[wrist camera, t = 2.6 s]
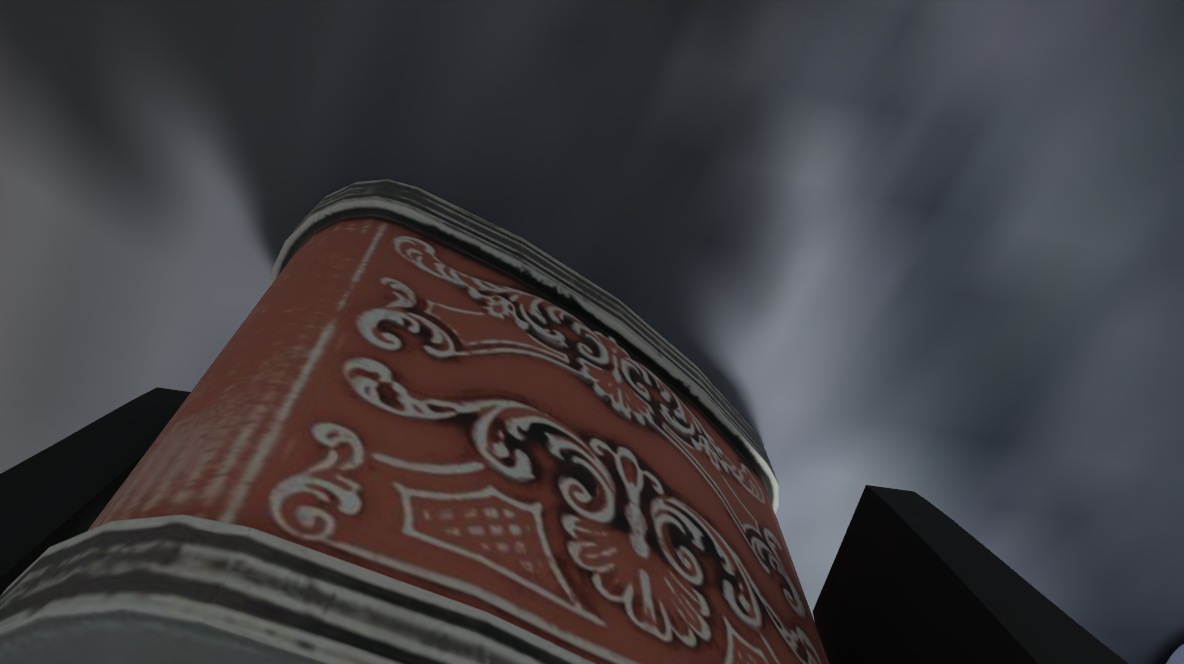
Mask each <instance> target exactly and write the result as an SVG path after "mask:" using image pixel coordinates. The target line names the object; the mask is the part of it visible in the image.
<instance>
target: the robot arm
mask: <svg viewBox="0 0 1184 664" xmlns="http://www.w3.org/2000/svg"><path fill="white" fill-rule="evenodd" d="M190 393H191V392H186V391H178V390H171V389H164V388H155V389H153V390H151V391H149V392H147V393H145V394H143V395H141V396H140V397H138V398H136V399H134V400H132V401H130V402H128V403H127V404H125V405H123V406H121V407H119V408H118V409H116V410H114V411H112V412H111V413H109V414H107V415H105V416H103V417H102V418H100V419H98V420H96V421H95V422H93V423H91V424H89V425H88V426H86V427H84V428H82V429H81V430H79V431H77V432H75V433H73V434H72V435H70V436H68V437H66V438H65V439H63V440H61V441H59V442H58V443H56V444H54V445H52V446H50V447H49V448H47V449H45V450H43V451H41V452H39V453H38V454H36V455H34V456H32V457H30V458H29V459H27V460H25V461H23V462H21V463H19V464H18V465H16V466H14V467H12V468H10V469H9V470H7V471H5V472H3V473H1V474H0V596H1V595H2V594H3V592H4V591H5V590H6V589H7V587H9V586H10V585H11V584H12V583H13V582H14V581H15V580H16V579H17V578H18V577H19V576H20V575H21V574H22V573H23V572H24V571H25V570H26V569H27V568H28V567H29V566H30V565H32V564H33V563H34V562H35V561H36V560H37V559H38V558H39V557H40V556H41V555H42V554H43V553H44V552H45V551H46V550H47V549H48V548H49V547H51V546H54V545H56V544H59V543H61V542H63V541H66V540H68V539H70V538H73V537H75V536H77V535H80V534H82V533H85V532H87V531H88V530H89V528H90V527H91V526H92V524H93V523H94V522H95V520H96V519H97V518H98V516H99V515H100V514H101V512H102V511H103V510H104V508H105V507H106V506H107V504H108V503H109V501H110V500H111V499H112V497H113V496H114V495H115V493H116V492H117V491H118V489H119V488H120V487H121V485H122V484H123V483H124V481H125V480H126V479H127V477H128V476H129V475H130V473H131V472H132V471H133V469H134V468H135V467H136V465H137V464H138V463H139V461H140V460H141V459H142V457H143V456H144V455H145V453H146V452H147V451H148V449H149V448H150V447H151V445H152V444H153V443H154V441H155V440H156V439H157V437H158V436H159V435H160V433H161V432H162V431H163V429H164V428H165V427H166V425H167V424H168V423H169V421H170V420H171V419H172V417H173V416H174V415H175V413H176V412H177V411H178V409H179V408H180V407H181V405H182V404H183V402H184V401H185V400H186V398H187V397H188V396H189V394H190ZM813 615H814V621H815V625H816V628H817V631H818V633H819V636H820V639H821V642H822V644H823V647H824V650H825V653H826V655H827V658H828V661H829V664H1128V663H1127V662H1126V661H1124V660H1123V659H1122V658H1120V657H1119V656H1118V655H1116V654H1115V653H1114V652H1113V651H1111V650H1110V649H1109V648H1108V647H1106V646H1105V645H1104V644H1103V643H1101V642H1100V641H1099V640H1098V639H1096V638H1095V637H1094V636H1093V635H1091V634H1090V633H1089V632H1088V631H1086V630H1085V629H1084V628H1083V627H1081V626H1080V625H1079V624H1078V623H1076V622H1075V621H1074V620H1073V619H1071V618H1070V617H1069V616H1068V615H1067V614H1065V613H1064V612H1063V611H1062V610H1060V609H1059V608H1058V607H1057V606H1056V605H1054V604H1053V603H1052V602H1051V601H1050V600H1048V599H1047V598H1046V597H1045V596H1044V595H1042V594H1041V593H1040V592H1039V591H1037V590H1036V589H1035V588H1034V587H1033V586H1031V585H1030V584H1029V583H1028V582H1027V581H1025V580H1024V579H1023V578H1022V577H1021V576H1020V575H1018V574H1017V573H1016V572H1015V571H1014V570H1012V569H1011V568H1010V567H1009V566H1008V565H1006V564H1005V563H1004V562H1003V561H1002V560H1000V559H999V558H998V557H997V556H996V555H994V554H993V553H992V552H991V551H990V550H988V549H987V548H986V547H985V546H984V545H982V544H981V543H980V542H979V541H978V540H976V539H975V538H974V537H973V536H972V535H970V534H969V533H968V532H967V531H965V530H964V529H963V528H962V527H960V526H959V525H958V524H957V523H956V522H954V521H953V520H952V519H951V518H949V517H948V516H947V515H945V514H944V513H943V512H942V511H940V510H939V509H938V508H936V507H935V506H934V505H932V504H931V503H930V502H928V501H927V500H925V499H924V498H922V497H921V496H920V495H918V494H917V493H915V492H913V491H905V490H898V489H891V488H884V487H876V486H869V485H866V486H865V489H864V491H863V494H862V496H861V498H860V501H859V503H858V505H857V508H856V510H855V513H854V515H853V517H852V520H851V522H850V524H849V527H848V529H847V532H846V534H845V536H844V539H843V541H842V543H841V546H840V548H839V550H838V553H837V555H836V558H835V560H834V562H833V565H832V567H831V569H830V572H829V574H828V577H827V579H826V581H825V584H824V586H823V588H822V591H821V593H820V595H819V598H818V600H817V603H816V605H815V607H814V610H813ZM1166 664H1184V644H1183V645H1181V646H1179V647H1178V648H1177V649H1176V650H1175V651H1174V653H1173V654H1172V655H1171V657H1170V658H1169V660H1168V661H1167V662H1166Z"/></svg>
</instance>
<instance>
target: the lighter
mask: <svg viewBox="0 0 1184 664" xmlns="http://www.w3.org/2000/svg"><path fill="white" fill-rule="evenodd" d="M778 507H779V503H778V482H777V479H776V477H775V474H774V471H773V469H772V466H771V464H770V461H769V459H768V456H767V453H766V451H765V449H764V447H763V445H762V443H761V441H760V439H759V437H758V435H757V433H756V431H755V430H754V429H753V428H752V427H751V426H750V425H749V424H748V423H747V421H746V420H745V419H744V418H743V417H742V416H741V415H740V414H739V413H738V411H737V410H736V409H735V408H734V407H733V406H732V405H731V404H730V403H729V401H728V400H727V399H726V398H725V397H724V396H723V395H722V394H721V393H720V391H719V390H718V389H717V388H716V387H715V386H714V385H713V384H712V383H711V381H710V380H709V379H708V378H707V377H706V376H705V375H704V374H703V373H702V371H701V370H700V369H699V368H698V367H697V366H696V365H695V364H694V363H693V362H691V361H690V360H689V359H688V358H687V357H686V356H684V355H683V354H682V353H681V352H680V351H679V350H677V349H676V348H675V347H674V346H673V345H672V344H670V343H669V342H668V341H667V340H666V339H665V338H663V337H662V336H661V335H660V334H659V333H658V332H656V331H655V330H654V329H653V328H652V327H651V326H649V325H648V324H647V323H646V322H645V321H644V320H642V319H641V318H640V317H639V316H638V315H637V314H635V313H634V312H633V311H632V310H631V309H630V308H628V307H627V306H626V305H625V304H624V303H623V302H621V301H620V300H619V299H618V298H616V297H614V296H613V295H611V294H610V293H608V292H607V291H605V290H603V289H602V288H600V287H599V286H597V285H596V284H594V283H592V282H591V281H589V280H588V279H586V278H585V277H583V276H581V275H580V274H578V273H577V272H575V271H574V270H572V269H570V268H569V267H567V266H566V265H564V264H563V263H561V262H559V261H558V260H556V259H555V258H553V257H552V256H550V255H548V254H547V253H545V252H544V251H542V250H541V249H539V248H537V247H536V246H534V245H533V244H531V243H530V242H528V241H526V240H525V239H523V238H521V237H519V236H517V235H515V234H513V233H511V232H509V231H507V230H505V229H503V228H501V227H499V226H497V225H495V224H492V223H490V222H488V221H486V220H484V219H482V218H480V217H478V216H476V215H474V214H472V213H470V212H468V211H466V210H464V209H462V208H460V207H457V206H455V205H453V204H451V203H449V202H447V201H445V200H443V199H441V198H439V197H437V196H435V195H433V194H431V193H429V192H427V191H425V190H423V189H420V188H418V187H416V186H412V185H408V184H404V183H400V182H397V181H393V180H389V179H384V180H374V181H363V182H355V183H353V184H351V185H349V186H346V187H344V188H342V189H340V190H338V191H336V192H334V193H332V194H329V195H327V196H326V197H325V198H324V199H323V200H322V201H321V202H320V203H319V204H318V205H317V206H316V207H315V208H314V209H313V210H312V211H311V212H310V213H309V214H308V215H307V216H306V217H305V218H304V219H303V220H302V221H301V222H300V224H299V225H298V226H297V227H296V229H295V230H294V231H293V232H292V234H291V235H290V236H289V237H288V239H287V240H286V241H285V243H284V245H283V247H282V249H281V251H280V254H279V256H278V258H277V260H276V262H275V264H274V267H273V269H272V271H271V283H270V287H269V289H268V290H267V291H266V293H265V294H264V295H263V297H262V298H261V299H260V301H259V302H258V303H257V305H256V306H255V307H254V309H253V310H252V312H251V313H250V314H249V316H248V317H247V318H246V320H245V321H244V322H243V324H242V325H241V326H240V328H239V329H238V330H237V332H236V333H235V334H234V336H233V337H232V338H231V340H230V341H229V342H228V344H227V345H226V346H225V348H224V349H223V350H222V352H221V353H220V354H219V356H218V357H217V358H216V360H215V361H214V362H213V364H212V365H211V366H210V368H209V369H208V370H207V372H206V373H205V374H204V376H203V377H202V378H201V380H200V381H199V382H198V384H197V385H196V386H195V388H194V389H193V390H192V392H191V393H190V394H189V396H188V397H187V398H186V400H185V401H184V402H183V404H182V405H181V407H180V408H179V409H178V411H177V412H176V413H175V415H174V416H173V417H172V419H171V420H170V421H169V423H168V424H167V425H166V427H165V428H164V429H163V431H162V432H161V433H160V435H159V436H158V437H157V439H156V440H155V441H154V443H153V444H152V445H151V447H150V448H149V449H148V451H147V452H146V453H145V455H144V456H143V457H142V459H141V460H140V461H139V463H138V464H137V465H136V467H135V468H134V469H133V471H132V472H131V473H130V475H129V476H128V477H127V479H126V480H125V481H124V483H123V484H122V485H121V487H120V488H119V489H118V491H117V492H116V493H115V495H114V496H113V497H112V499H111V500H110V501H109V503H108V504H107V506H106V507H105V508H104V510H103V511H102V512H101V514H100V515H99V516H98V518H97V519H96V520H95V522H94V523H93V524H92V526H91V527H90V528H89V530H88V531H87V532H85V533H82V534H80V535H77V536H75V537H73V538H70V539H68V540H66V541H63V542H61V543H59V544H56V545H54V546H51V547H49V548H48V549H47V550H46V551H45V552H44V553H43V554H42V555H41V556H40V557H39V558H38V559H37V560H36V561H35V562H34V563H33V564H32V565H30V566H29V567H28V568H27V569H26V570H25V571H24V572H23V573H22V574H21V575H20V576H19V577H18V578H17V579H16V580H15V581H14V582H13V583H12V584H11V585H10V586H9V587H7V589H6V590H5V591H4V592H3V594H2V595H1V596H0V664H829V661H828V658H827V655H826V653H825V650H824V647H823V644H822V642H821V639H820V636H819V633H818V631H817V628H816V625H815V622H814V620H813V617H812V614H811V611H810V609H809V606H808V603H807V600H806V598H805V595H804V592H803V589H802V587H801V584H800V581H799V578H798V576H797V573H796V570H795V567H794V565H793V562H792V559H791V557H790V554H789V551H788V548H787V546H786V543H785V540H784V537H783V535H782V532H781V529H780V526H779V524H778V521H777V518H776V515H775V514H776V511H777V509H778Z"/></svg>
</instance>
